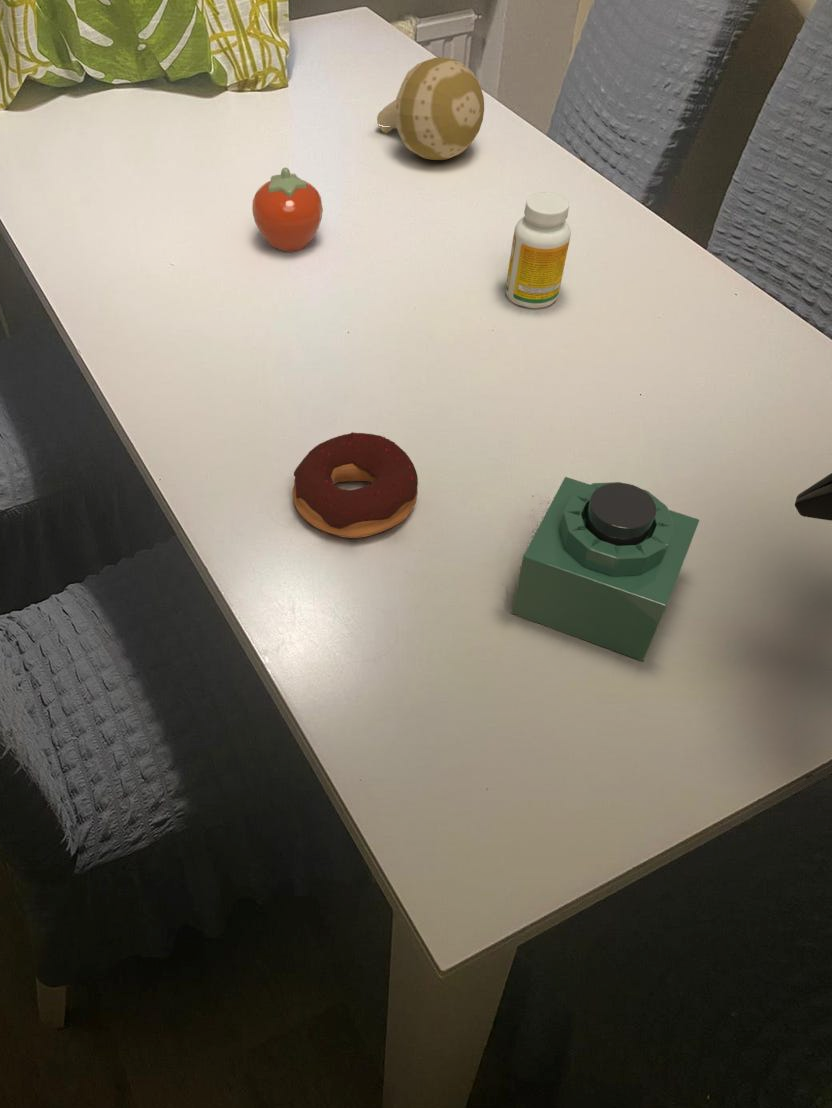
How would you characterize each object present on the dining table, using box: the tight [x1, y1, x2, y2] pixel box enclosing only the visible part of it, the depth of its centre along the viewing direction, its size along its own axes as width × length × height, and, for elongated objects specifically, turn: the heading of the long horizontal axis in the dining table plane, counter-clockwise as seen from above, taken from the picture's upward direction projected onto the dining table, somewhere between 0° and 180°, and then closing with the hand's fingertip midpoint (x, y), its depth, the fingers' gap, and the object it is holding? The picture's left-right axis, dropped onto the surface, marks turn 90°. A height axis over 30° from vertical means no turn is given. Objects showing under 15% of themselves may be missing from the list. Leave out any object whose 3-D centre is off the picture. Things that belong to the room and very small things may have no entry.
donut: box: [292, 431, 419, 539], centre depth 74 cm, size 10×10×4 cm
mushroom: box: [376, 56, 485, 161], centre depth 110 cm, size 10×11×15 cm
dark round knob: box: [585, 482, 656, 546], centre depth 63 cm, size 4×4×2 cm
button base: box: [510, 476, 700, 662], centre depth 67 cm, size 10×9×8 cm
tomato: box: [251, 167, 324, 253], centre depth 97 cm, size 7×7×8 cm
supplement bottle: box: [505, 191, 572, 309], centre depth 90 cm, size 5×5×10 cm
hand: (798, 506), depth 56 cm, fingers closed
